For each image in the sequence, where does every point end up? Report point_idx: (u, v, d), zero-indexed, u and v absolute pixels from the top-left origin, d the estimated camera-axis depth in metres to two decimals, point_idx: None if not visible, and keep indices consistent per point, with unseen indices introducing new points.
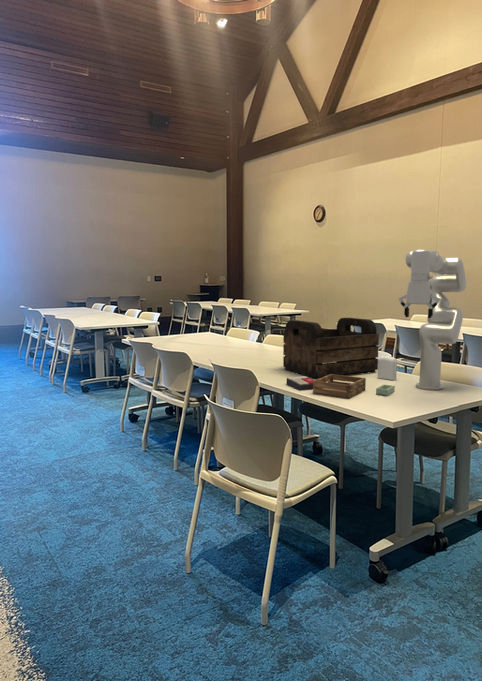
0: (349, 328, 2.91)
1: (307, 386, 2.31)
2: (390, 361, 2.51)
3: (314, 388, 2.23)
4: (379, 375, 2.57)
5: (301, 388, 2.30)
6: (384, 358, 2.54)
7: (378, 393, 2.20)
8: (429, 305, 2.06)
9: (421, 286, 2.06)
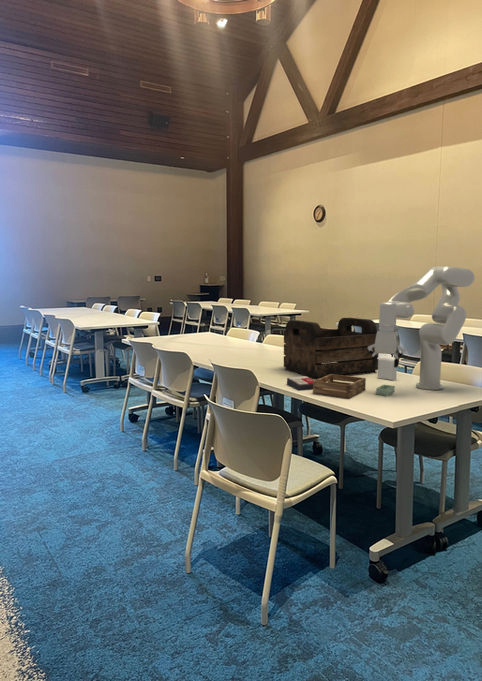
0: (350, 328, 2.91)
1: (306, 386, 2.31)
2: (390, 361, 2.50)
3: (314, 388, 2.23)
4: (379, 375, 2.57)
5: (300, 388, 2.30)
6: (384, 358, 2.54)
7: (378, 393, 2.20)
8: (395, 355, 2.17)
9: (388, 337, 2.17)
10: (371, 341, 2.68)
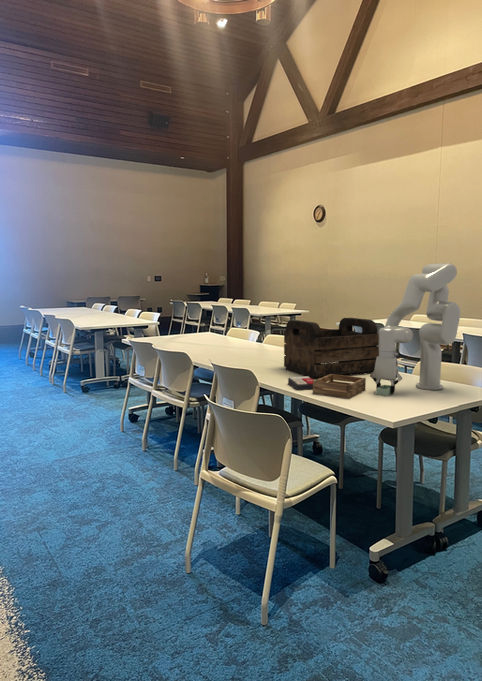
0: (351, 328, 2.90)
1: (305, 386, 2.31)
2: None
3: (314, 388, 2.23)
4: None
5: (299, 388, 2.30)
6: None
7: (378, 393, 2.20)
8: (391, 382, 2.19)
9: (388, 362, 2.18)
10: (371, 341, 2.67)
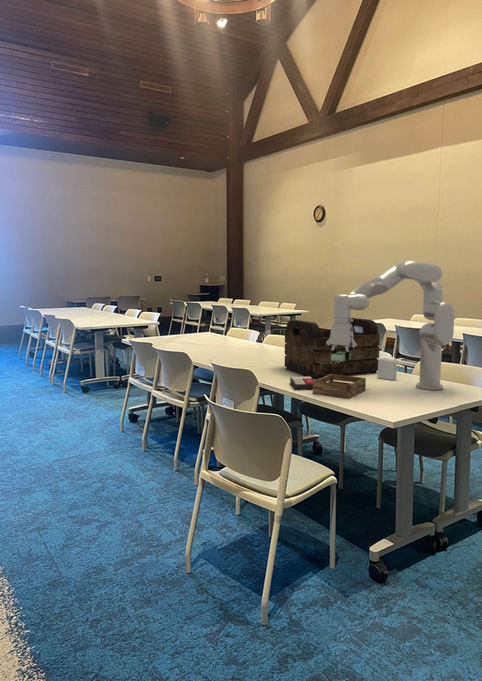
0: None
1: (303, 386, 2.31)
2: (390, 361, 2.51)
3: (314, 388, 2.23)
4: (379, 375, 2.57)
5: (296, 388, 2.31)
6: (384, 358, 2.54)
7: (333, 359, 2.21)
8: (346, 348, 2.21)
9: (342, 328, 2.20)
10: (371, 341, 2.66)
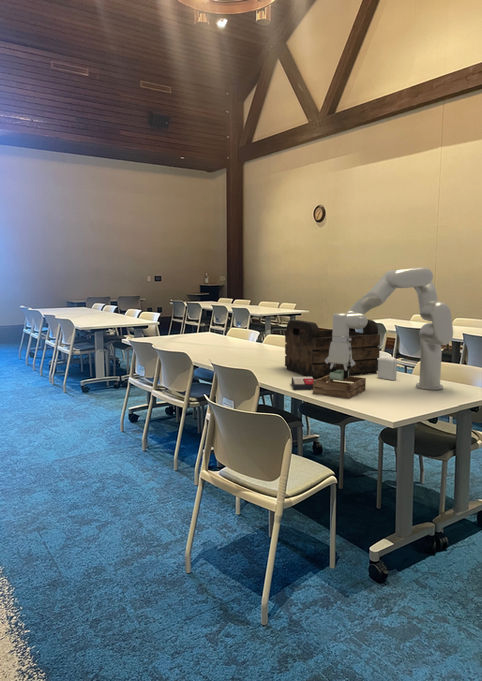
0: None
1: (302, 386, 2.31)
2: (390, 361, 2.51)
3: (314, 388, 2.23)
4: (379, 375, 2.57)
5: (295, 388, 2.31)
6: (384, 358, 2.54)
7: (331, 377, 2.22)
8: (344, 367, 2.22)
9: (341, 347, 2.21)
10: (371, 341, 2.66)
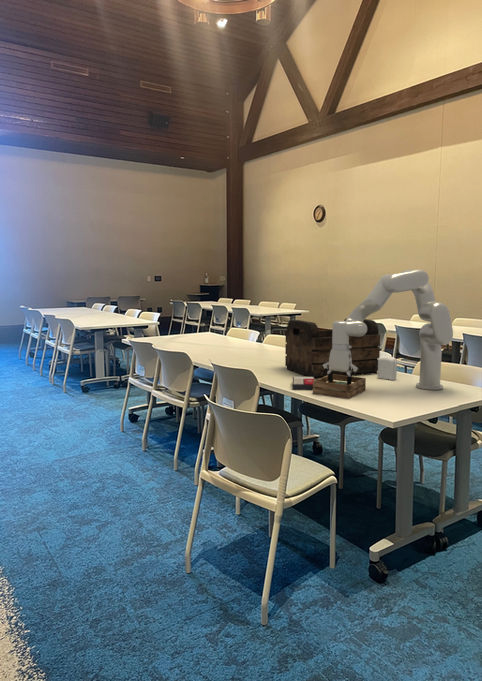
0: None
1: (301, 386, 2.31)
2: (390, 361, 2.51)
3: (314, 388, 2.23)
4: (379, 375, 2.57)
5: (294, 388, 2.31)
6: (384, 358, 2.54)
7: (332, 389, 2.23)
8: (348, 373, 2.22)
9: (341, 355, 2.21)
10: (371, 342, 2.65)
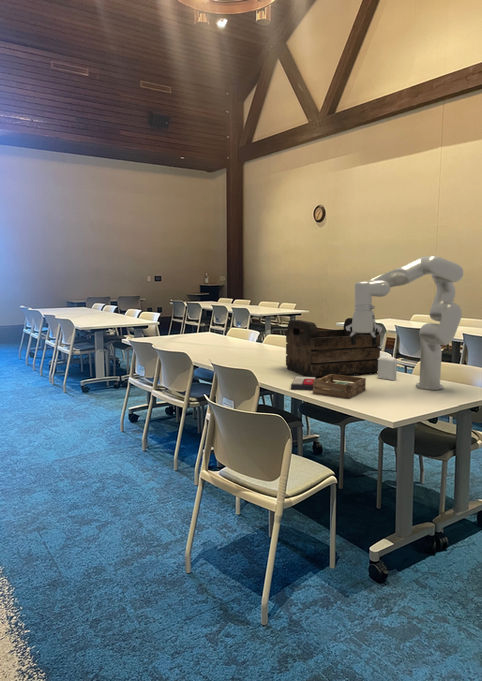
0: None
1: (299, 386, 2.31)
2: (390, 361, 2.51)
3: (314, 388, 2.23)
4: (379, 375, 2.57)
5: (292, 387, 2.32)
6: (384, 358, 2.54)
7: (332, 389, 2.23)
8: (372, 334, 2.18)
9: (364, 316, 2.18)
10: (371, 342, 2.64)
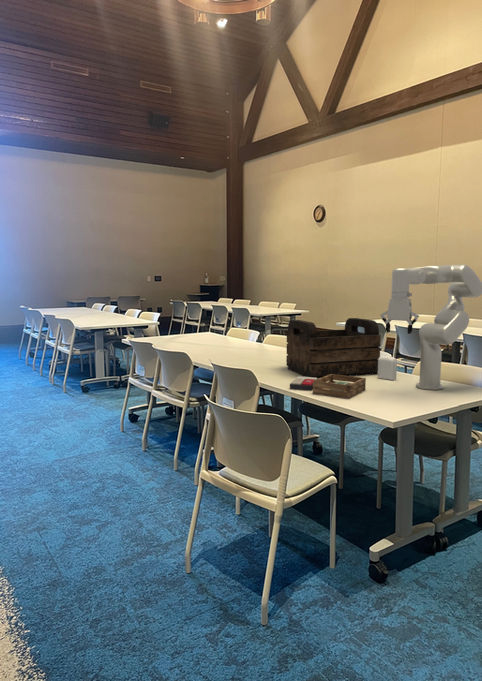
0: (356, 329, 2.87)
1: (297, 386, 2.31)
2: (390, 361, 2.50)
3: (314, 388, 2.23)
4: (379, 375, 2.57)
5: (291, 387, 2.33)
6: (384, 358, 2.54)
7: (332, 389, 2.23)
8: (408, 321, 2.16)
9: (401, 303, 2.16)
10: (371, 342, 2.63)
